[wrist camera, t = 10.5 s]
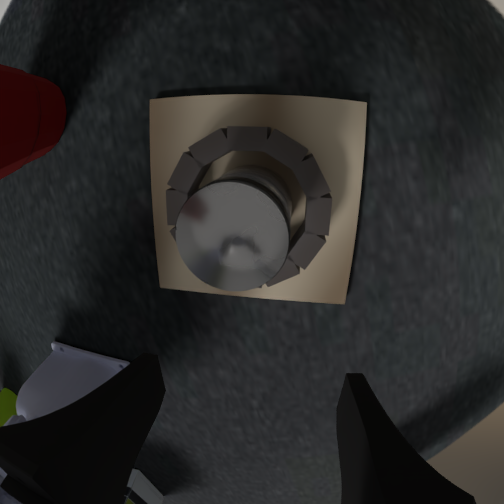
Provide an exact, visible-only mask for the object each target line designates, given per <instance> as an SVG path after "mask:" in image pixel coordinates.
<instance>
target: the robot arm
mask: <svg viewBox="0 0 504 504" xmlns="http://www.w3.org/2000/svg"><path fill="white" fill-rule="evenodd" d="M51 346H52V349H53V352H52V353H51V354H50V355H49V356H48V357H47V358H46V359H45V360H44V362H43V363H42V364H41V365H40V366H39V367H38V368H37V369H36V370H35V372H34V373H33V374H32V375H31V376H30V377H29V378H28V379H27V381H26V382H25V383H24V384H23V385H22V387H21V389H20V391H19V393H18V397H17V401H16V411H17V415H12V416H11V417H10V418H9V419H8V421H7V422H6V423H5V424H4V425H3V426H1V427H0V504H122V503H123V499H124V495H125V492H126V488H127V485H128V481H129V478H130V475H131V472H132V469H133V466H134V463H135V460H136V458H137V456H138V453H139V451H140V449H141V447H142V445H143V443H144V441H145V439H146V437H147V435H148V433H149V431H150V429H151V427H152V425H153V423H154V421H155V419H156V417H157V414H158V412H159V410H160V407H161V404H162V401H163V398H164V394H165V391H166V390H165V386H164V381H163V377H162V373H161V369H160V364H159V360H158V355H153V354H148V353H143V354H142V355H140V356H139V357H138V358H136V359H135V360H134V361H132V362H131V363H130V362H128V361H124V360H120V359H116V358H112V357H108V356H104V355H100V354H96V353H93V352H89V351H85V350H82V349H78V348H75V347H72V346H68V345H65V344H62V343H59V342H55V341H54V342H52V344H51ZM337 440H338V449H339V459H340V468H341V479H342V499H341V504H476V502H475V499H474V497H473V496H472V495H470V494H469V493H467V492H465V491H464V490H462V489H460V488H459V487H457V486H456V485H454V484H453V483H451V482H450V481H448V480H447V479H446V478H445V477H443V476H442V475H441V474H439V473H438V472H437V471H436V470H435V469H434V468H433V467H432V466H430V465H429V464H428V463H427V462H426V461H425V460H424V459H423V458H422V457H421V456H420V455H419V454H418V453H417V452H416V451H415V450H414V449H413V448H412V446H411V445H410V444H409V443H408V442H407V441H406V439H405V438H404V437H403V436H402V434H401V433H400V432H399V430H398V429H397V428H396V426H395V425H394V424H393V422H392V421H391V419H390V418H389V416H388V415H387V413H386V412H385V410H384V409H383V407H382V406H381V404H380V403H379V401H378V399H377V398H376V396H375V394H374V393H373V391H372V389H371V387H370V386H369V384H368V382H367V380H366V378H365V376H364V375H363V374H362V373H346V377H345V380H344V384H343V388H342V391H341V395H340V398H339V402H338V405H337Z"/></svg>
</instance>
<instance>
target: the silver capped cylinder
mask: <svg viewBox="0 0 504 504" xmlns="http://www.w3.org/2000/svg"><path fill="white" fill-rule="evenodd" d="M291 211H292V198H291V193H290V190H289V188H288V186H287V184H286V183H285V181H284V180H283V179H282V177H281V176H280V175H278V174H277V173H276V172H275V171H273V170H271V169H269V168H267V167H265V166H261V165H255V164H248V165H242V166H239V167H236V168H234V169H232V170H230V171H229V172H227V173H226V174H224V175H223V176H221V177H219V178H218V179H216V180H214V181H212V182H210V183H208V184H206V185H205V186H203V187H201V188H200V189H198V190H197V191H196V192H194V193H193V194H192V195H191V196H190V197H189V198H188V199H187V200H186V202H185V203H184V204H183V206H182V208H181V210H180V212H179V214H178V217H177V221H176V228H175V238H176V244H177V247H178V251H179V253H180V256H181V258H182V260H183V261H184V263H185V265H186V266H187V267H188V269H189V270H190V271H191V272H192V273H193V274H194V275H195V276H196V277H197V278H199V279H200V280H201V281H203V282H204V283H206V284H208V285H210V286H212V287H215V288H218V289H221V290H225V291H246V290H251V289H254V288H257V287H260V286H262V285H263V284H265V283H267V282H268V281H270V280H271V279H272V278H273V277H274V276H275V275H277V273H278V272H279V271H280V270H281V268H282V266H283V265H284V263H285V261H286V258H287V256H288V252H289V247H290V236H291V227H290V222H291Z"/></svg>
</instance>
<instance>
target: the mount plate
mask: <svg viewBox="0 0 504 504" xmlns="http://www.w3.org/2000/svg"><path fill="white" fill-rule="evenodd" d="M366 111H367V102H360V101H351V100H343V99H333V98H322V97H309V96H293V95H265V94H227V95H200V96H184V97H171V98H160V99H150V164H151V187H152V205H153V220H154V233H155V244H156V255H157V265H158V274H159V283H160V288H168V289H176V290H185V291H194V292H203V293H213V294H223V295H233V296H243V297H254V298H266V299H278V300H290V301H304V302H318V303H333V304H345V299H346V294H347V288H348V282H349V276H350V270H351V264H352V257H353V250H354V243H355V236H356V229H357V221H358V213H359V204H360V195H361V185H362V174H363V162H364V148H365V132H366ZM248 164H255V165H261V166H265V167H267V168H269V169H271V170H273V171H275V172H276V173H277V174H278V175H280V176H281V177H282V179H283V180H284V181H285V183H286V184H287V186H288V188H289V190H290V193H291V198H292V211H291V222H290V227H291V236H290V247H289V252H288V256H287V258H286V261H285V263H284V265H283V266H282V268H281V270H280V271H279V272H278V273H277V275H275V276H274V277H273V278H272V279H271V280H270V281H268V282H267V283H265V284H263V285H262V286H260V287H257V288H254V289H251V290H246V291H225V290H221V289H218V288H215V287H212V286H210V285H208V284H206V283H204V282H203V281H201V280H200V279H199V278H197V277H196V276H195V275H194V274H193V273H192V272H191V271H190V270H189V269H188V267H187V266H186V265H185V263H184V261H183V260H182V258H181V256H180V253H179V251H178V247H177V244H176V238H175V228H176V221H177V217H178V214H179V212H180V210H181V208H182V206H183V204H184V203H185V202H186V200H187V199H188V198H189V197H190V196H191V195H192V194H193V193H194V192H196V191H197V190H198V189H200V188H201V187H203V186H205V185H206V184H208V183H210V182H212V181H214V180H216V179H218V178H219V177H221V176H223V175H224V174H226V173H227V172H229V171H230V170H232V169H234V168H236V167H239V166H242V165H248Z"/></svg>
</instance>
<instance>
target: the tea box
mask: <svg viewBox="0 0 504 504" xmlns="http://www.w3.org/2000/svg"><path fill="white" fill-rule="evenodd" d="M163 499H164V497H163V495H162V494H161V493H160V492H159V491H158V490H157V489H156V488H155V486H154V485H153V484H152V483H151V482H150V481H149V480H148V479H147V478H146V477H145V476H144V475H143V474H142V472H141V471H139V470H137V469H132V472H131V475H130V478H129V481H128V485H127V488H126V492H125V495H124V499H123V503H122V504H162V502H163Z"/></svg>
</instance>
